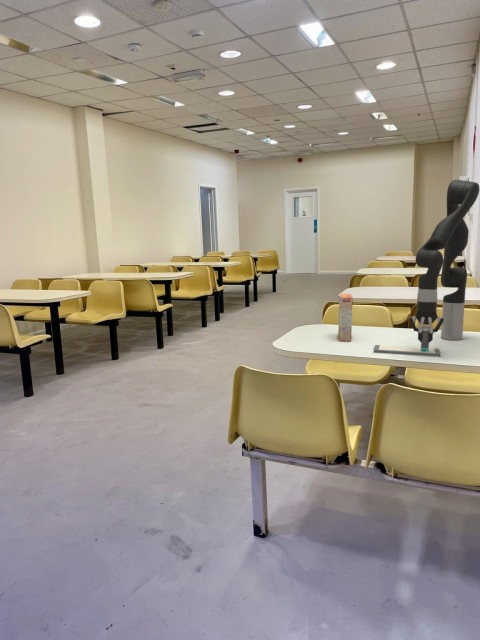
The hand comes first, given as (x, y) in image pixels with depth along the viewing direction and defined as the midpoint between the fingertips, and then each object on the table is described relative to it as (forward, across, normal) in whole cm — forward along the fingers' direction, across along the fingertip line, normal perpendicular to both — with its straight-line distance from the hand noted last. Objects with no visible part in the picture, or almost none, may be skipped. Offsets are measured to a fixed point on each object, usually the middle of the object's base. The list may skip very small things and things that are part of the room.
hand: (424, 341), depth 192 cm
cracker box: (+6, +35, -22) cm, 42 cm away
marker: (+4, 0, 0) cm, 4 cm away
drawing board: (+5, +7, -2) cm, 9 cm away
